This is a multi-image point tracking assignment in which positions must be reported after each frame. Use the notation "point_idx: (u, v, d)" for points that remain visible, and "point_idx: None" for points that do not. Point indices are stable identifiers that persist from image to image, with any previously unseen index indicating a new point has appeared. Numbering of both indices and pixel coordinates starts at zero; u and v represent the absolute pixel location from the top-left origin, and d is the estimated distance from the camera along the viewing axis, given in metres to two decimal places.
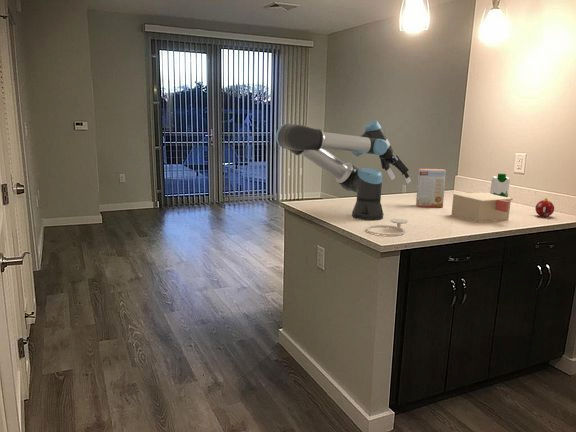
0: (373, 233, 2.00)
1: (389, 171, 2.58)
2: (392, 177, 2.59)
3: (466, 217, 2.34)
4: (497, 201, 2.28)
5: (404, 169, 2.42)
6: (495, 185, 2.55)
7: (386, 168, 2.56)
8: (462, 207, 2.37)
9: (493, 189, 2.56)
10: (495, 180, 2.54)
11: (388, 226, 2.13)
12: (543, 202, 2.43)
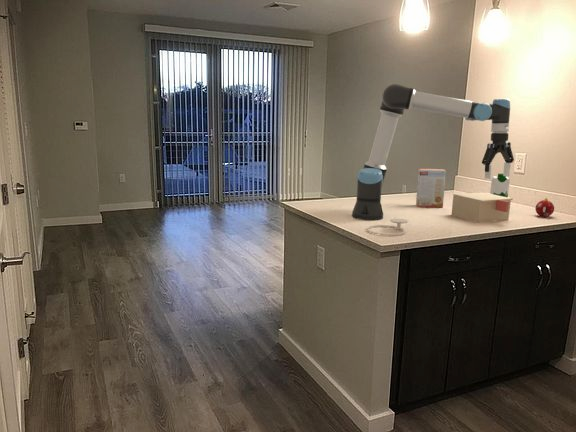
0: (374, 233, 2.01)
1: (506, 165, 2.30)
2: (505, 173, 2.31)
3: (466, 217, 2.34)
4: (497, 201, 2.28)
5: (484, 159, 2.22)
6: (495, 185, 2.55)
7: None
8: (462, 207, 2.37)
9: (493, 189, 2.56)
10: (495, 180, 2.54)
11: (388, 226, 2.13)
12: (543, 202, 2.43)
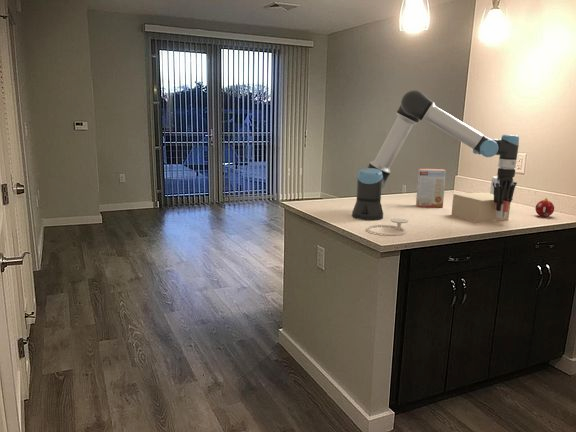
0: None
1: None
2: None
3: (466, 217, 2.34)
4: None
5: (495, 199, 2.24)
6: None
7: (503, 199, 2.27)
8: (462, 207, 2.37)
9: (493, 189, 2.56)
10: (495, 180, 2.54)
11: (388, 226, 2.14)
12: (543, 202, 2.43)
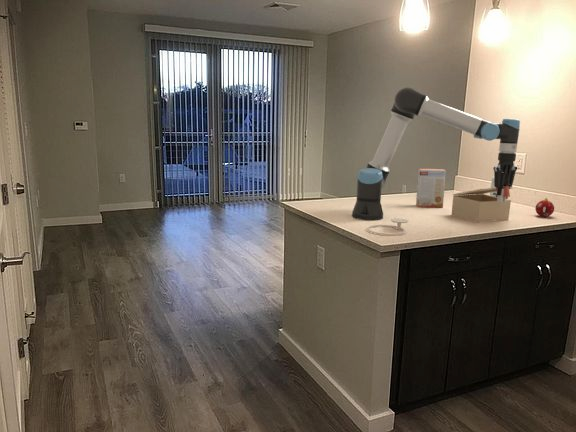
0: None
1: None
2: None
3: (466, 217, 2.34)
4: (497, 189, 2.27)
5: (495, 183, 2.23)
6: None
7: (503, 183, 2.26)
8: (462, 207, 2.37)
9: None
10: None
11: (388, 226, 2.14)
12: (543, 202, 2.43)
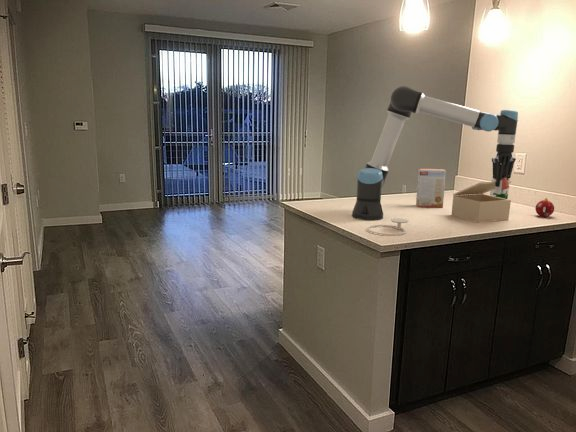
0: None
1: None
2: (500, 190, 2.28)
3: (466, 217, 2.34)
4: None
5: (494, 175, 2.24)
6: None
7: (502, 175, 2.27)
8: (462, 207, 2.37)
9: None
10: (495, 180, 2.54)
11: (388, 226, 2.14)
12: (543, 202, 2.43)
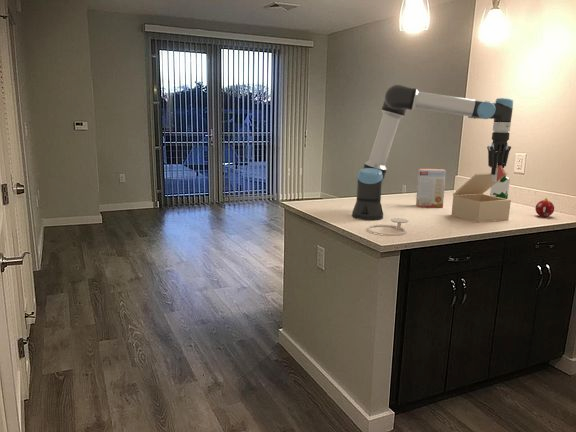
0: None
1: None
2: None
3: (466, 217, 2.34)
4: None
5: (489, 163, 2.26)
6: (495, 185, 2.55)
7: None
8: (462, 207, 2.37)
9: (493, 189, 2.56)
10: None
11: (388, 226, 2.14)
12: (543, 202, 2.43)
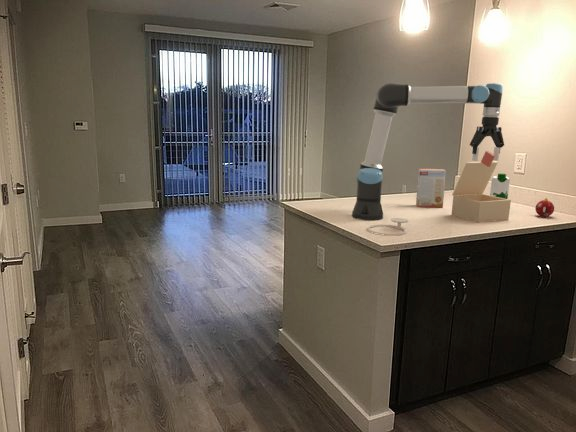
0: None
1: (495, 149, 2.35)
2: (494, 158, 2.36)
3: (466, 217, 2.34)
4: (482, 161, 2.35)
5: (472, 141, 2.28)
6: (495, 185, 2.55)
7: (495, 144, 2.35)
8: (462, 207, 2.37)
9: (493, 189, 2.56)
10: (495, 180, 2.54)
11: (388, 225, 2.14)
12: (543, 202, 2.43)
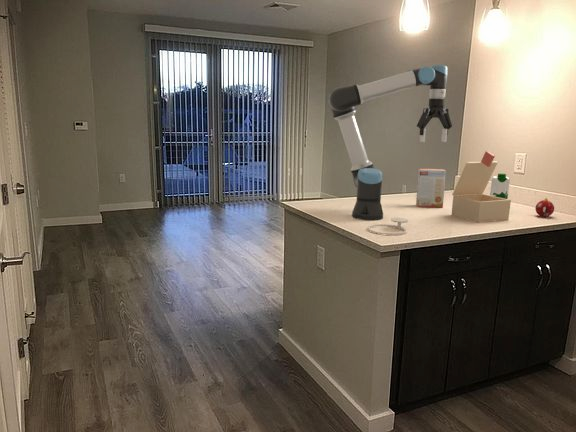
0: None
1: (443, 131, 2.40)
2: (442, 139, 2.41)
3: (466, 217, 2.34)
4: (482, 161, 2.35)
5: (418, 123, 2.33)
6: (495, 185, 2.55)
7: (443, 126, 2.40)
8: (462, 207, 2.37)
9: (493, 189, 2.56)
10: (495, 180, 2.54)
11: (388, 225, 2.15)
12: (543, 202, 2.43)
